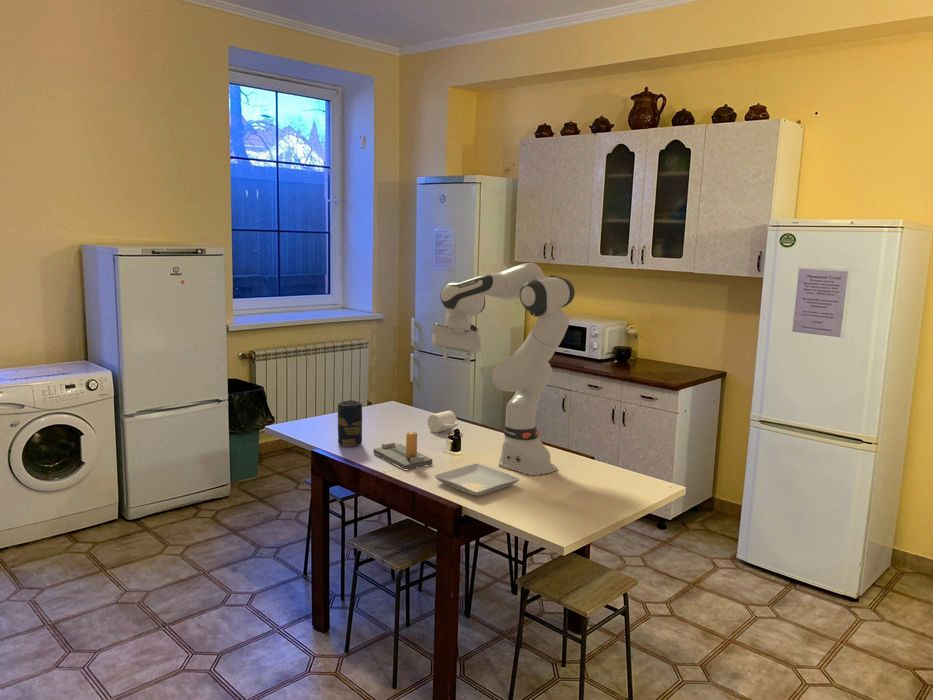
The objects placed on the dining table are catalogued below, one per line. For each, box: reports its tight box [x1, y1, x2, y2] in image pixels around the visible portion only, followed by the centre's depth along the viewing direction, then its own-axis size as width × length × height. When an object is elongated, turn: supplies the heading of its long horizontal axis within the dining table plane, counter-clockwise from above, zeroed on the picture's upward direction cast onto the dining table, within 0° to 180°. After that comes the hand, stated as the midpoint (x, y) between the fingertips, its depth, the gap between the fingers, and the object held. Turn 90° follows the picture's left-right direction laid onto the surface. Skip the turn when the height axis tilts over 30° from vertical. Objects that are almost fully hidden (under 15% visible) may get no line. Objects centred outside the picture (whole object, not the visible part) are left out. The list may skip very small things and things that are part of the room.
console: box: [373, 441, 433, 470], centre depth 266 cm, size 22×12×4 cm, turn 38°
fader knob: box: [405, 431, 418, 459], centre depth 260 cm, size 4×4×9 cm
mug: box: [427, 410, 459, 434], centre depth 303 cm, size 12×10×8 cm
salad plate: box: [434, 463, 520, 497], centre depth 242 cm, size 21×21×3 cm
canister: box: [337, 399, 363, 447], centre depth 280 cm, size 10×10×18 cm
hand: (456, 360), depth 276 cm, fingers open, 8 cm apart
